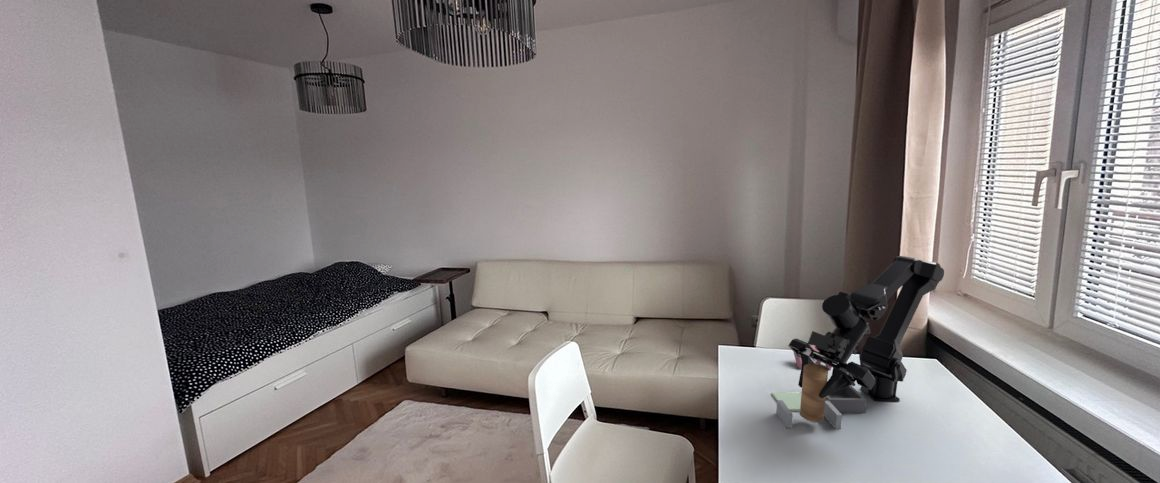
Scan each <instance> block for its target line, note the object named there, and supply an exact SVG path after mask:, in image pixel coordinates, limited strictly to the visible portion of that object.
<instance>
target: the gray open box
mask: <svg viewBox="0 0 1160 483" xmlns="http://www.w3.org/2000/svg"><path fill="white" fill-rule="evenodd" d="M827 382H828V380H827ZM825 401H830V402H831V403H832V405H833V406H834V407H835V408H836V409H837V410H838V411H839V412H840V413H841V414H842V413H845V414H866V411H867V402H868V400H867V399H866V397H864V396H863V395H862V394H861V393H860V392H859V391H858V390H856V389H855V388H854V386H852V385H850V386H847V387H845V388H842V389H840V390H837V391H835V392H834V393H832V394H830V395H828V396H826V400H825Z"/></svg>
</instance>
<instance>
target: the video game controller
mask: <svg viewBox="0 0 1160 483" xmlns="http://www.w3.org/2000/svg"><path fill="white" fill-rule="evenodd" d="M809 345H810V344H809ZM810 346H811V347H812V348H813V350H814V351H816V352H819V350H817V349H816V348H815V345H810ZM793 356H794V359H795V364H796V365H797V367H798V368H799V369H800V370H801V368H802V360H801V358H800V357H798V356H797V355H796V354H795V353H794V352H793ZM824 360H825V359H824ZM826 361H827V360H826ZM821 363H822V362H820V361H816V362H815V364H816V365H821ZM824 365H825V368H826V369H827V370H832V369H833V367H831V366H829V365H826V364H824Z"/></svg>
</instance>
